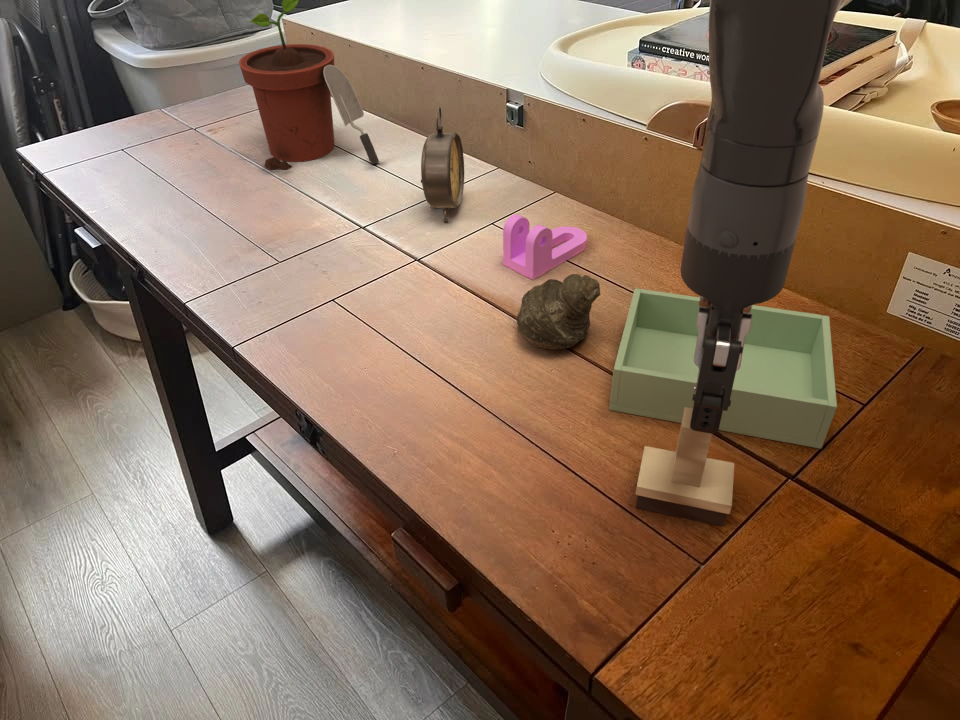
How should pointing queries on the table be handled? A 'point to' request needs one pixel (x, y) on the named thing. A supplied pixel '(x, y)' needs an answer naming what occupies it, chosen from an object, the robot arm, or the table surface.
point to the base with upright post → (686, 479)
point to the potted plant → (299, 98)
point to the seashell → (558, 311)
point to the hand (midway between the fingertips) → (707, 395)
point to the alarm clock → (442, 169)
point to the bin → (758, 383)
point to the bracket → (538, 246)
